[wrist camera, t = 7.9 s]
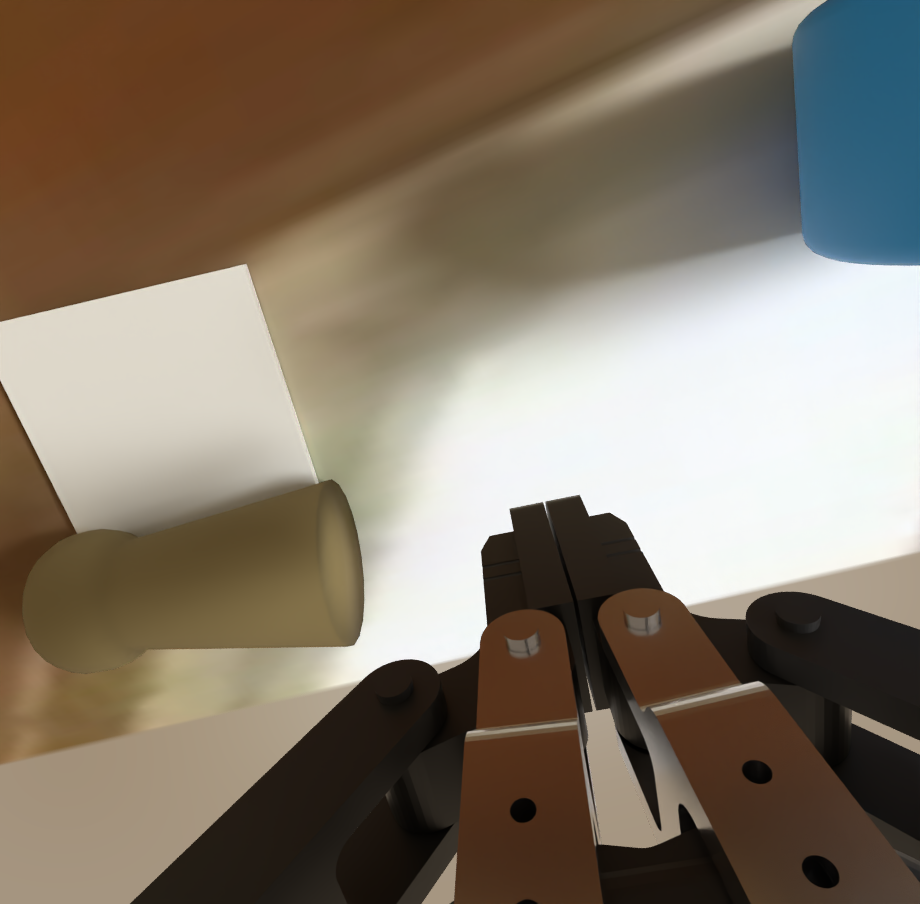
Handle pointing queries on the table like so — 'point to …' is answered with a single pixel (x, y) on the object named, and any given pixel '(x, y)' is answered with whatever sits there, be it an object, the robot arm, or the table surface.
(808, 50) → the alarm clock
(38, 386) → the mat
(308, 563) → the cork
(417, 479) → the table surface
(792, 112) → the table surface
